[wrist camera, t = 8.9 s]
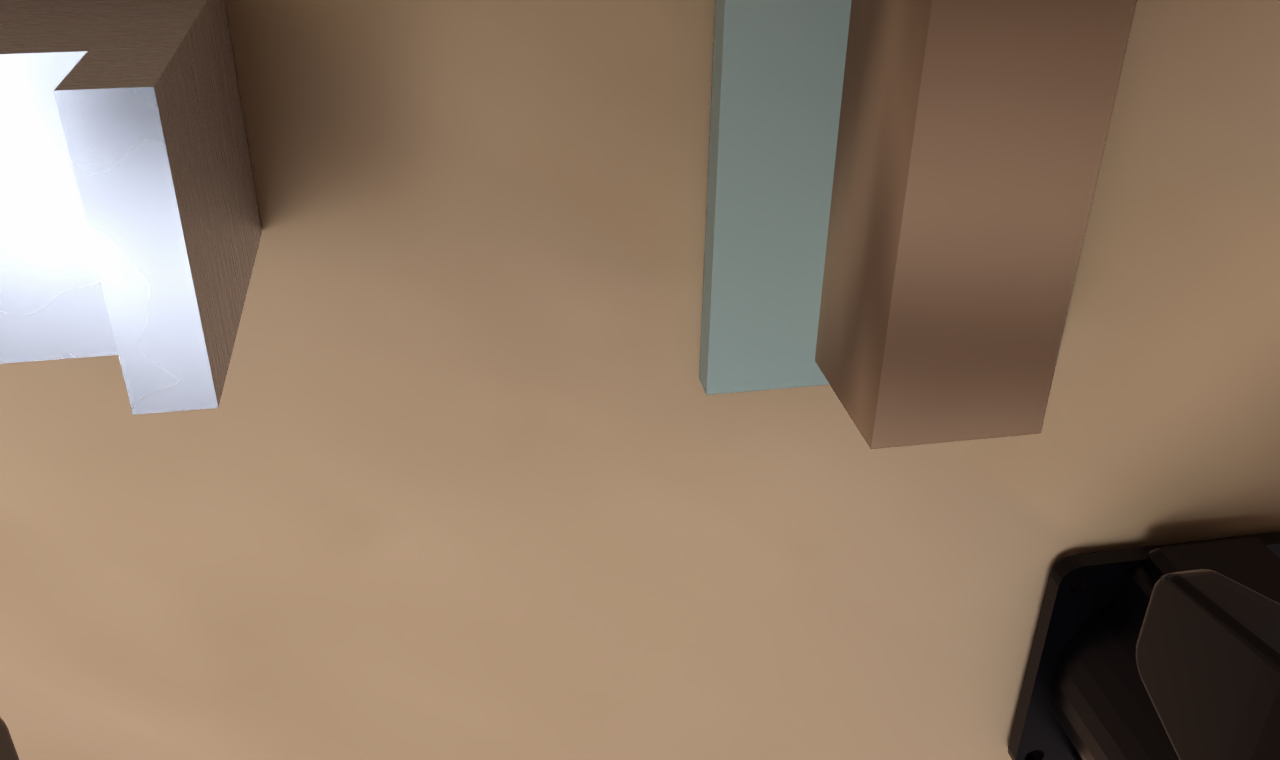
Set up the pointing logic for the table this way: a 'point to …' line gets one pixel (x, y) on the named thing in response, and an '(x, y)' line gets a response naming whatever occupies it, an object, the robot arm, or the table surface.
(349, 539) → the table surface
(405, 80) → the table surface
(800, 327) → the mat
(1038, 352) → the rail
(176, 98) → the grey block
